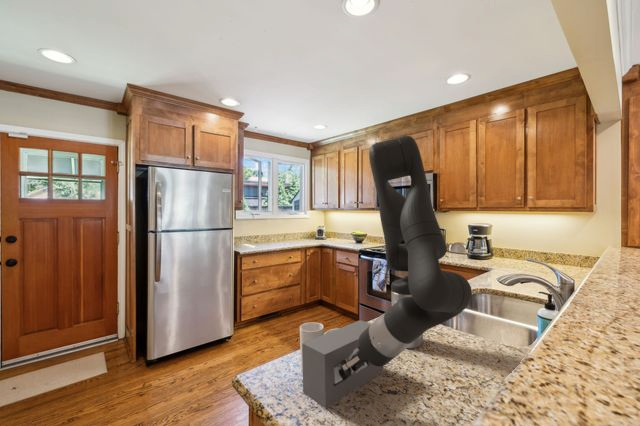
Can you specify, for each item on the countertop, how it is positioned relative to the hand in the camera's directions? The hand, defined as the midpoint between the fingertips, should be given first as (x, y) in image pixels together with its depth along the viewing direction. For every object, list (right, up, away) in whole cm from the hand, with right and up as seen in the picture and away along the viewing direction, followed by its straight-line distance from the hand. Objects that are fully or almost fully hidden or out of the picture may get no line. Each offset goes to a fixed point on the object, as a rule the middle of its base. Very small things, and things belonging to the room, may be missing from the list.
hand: (342, 374), depth 66 cm
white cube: (-2, -2, +2) cm, 3 cm away
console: (+1, -6, +7) cm, 9 cm away
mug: (-8, -6, +15) cm, 18 cm away
